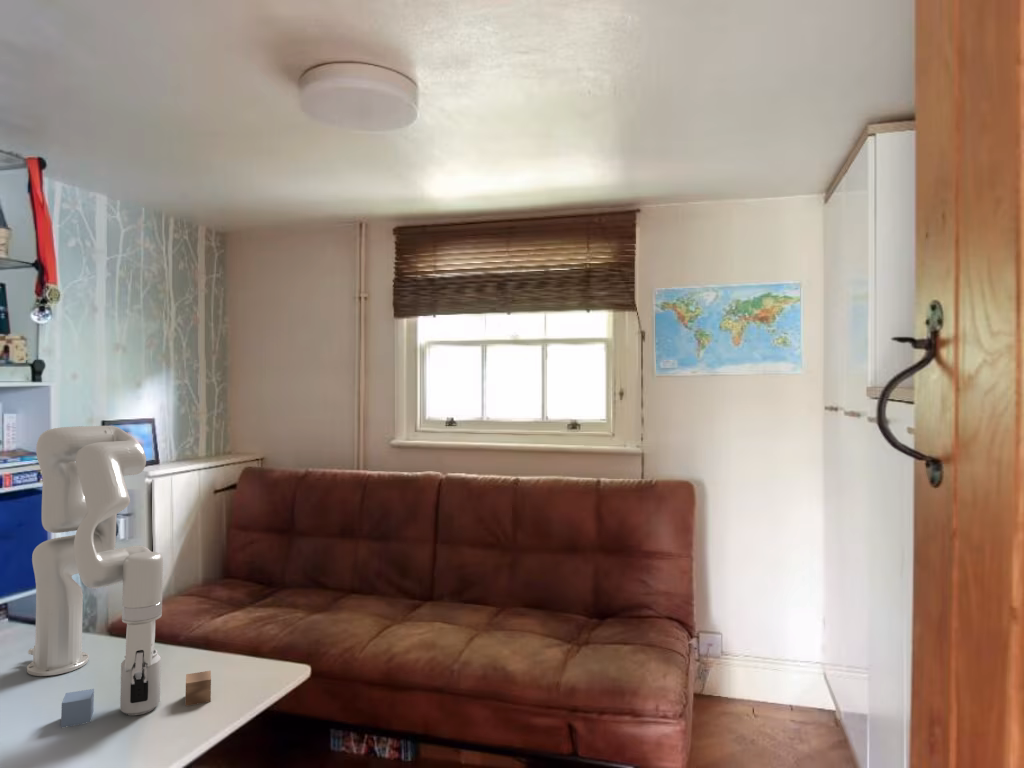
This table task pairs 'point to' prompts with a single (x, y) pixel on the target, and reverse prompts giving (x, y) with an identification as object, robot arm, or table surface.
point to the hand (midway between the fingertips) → (140, 692)
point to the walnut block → (198, 688)
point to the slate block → (77, 707)
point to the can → (153, 688)
